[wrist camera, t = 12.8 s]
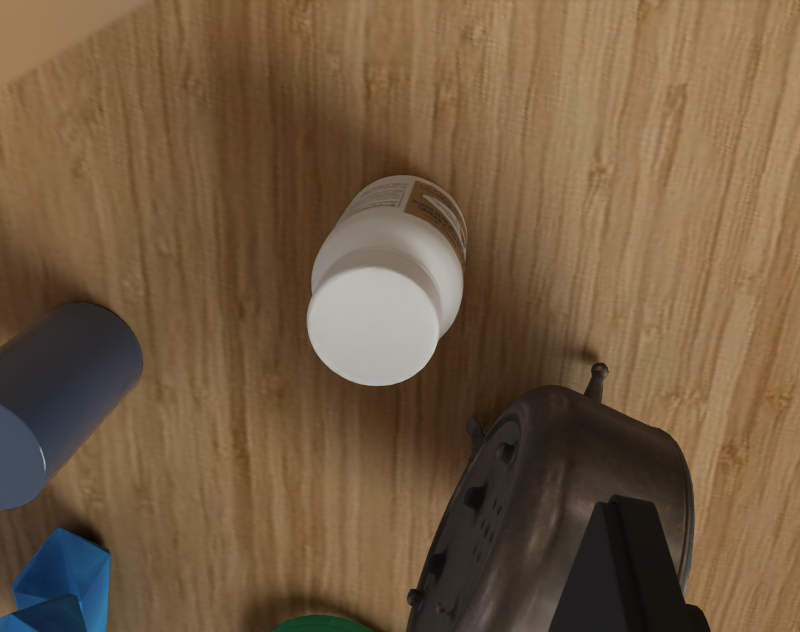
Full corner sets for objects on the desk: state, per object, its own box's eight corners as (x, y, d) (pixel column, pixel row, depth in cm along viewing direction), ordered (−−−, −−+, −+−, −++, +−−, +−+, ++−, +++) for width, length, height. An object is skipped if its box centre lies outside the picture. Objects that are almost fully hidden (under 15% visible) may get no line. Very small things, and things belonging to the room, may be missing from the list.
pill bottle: (485, 270, 26) (482, 377, 19) (371, 307, 27) (328, 420, 20) (442, 153, 24) (421, 221, 17) (323, 197, 25) (258, 278, 18)
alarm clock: (516, 564, 31) (538, 1087, 16) (400, 515, 31) (314, 1004, 16) (654, 358, 26) (859, 828, 12) (519, 298, 26) (553, 703, 11)
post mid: (34, 290, 28) (-99, 379, 22) (144, 313, 28) (42, 409, 22) (39, 387, 30) (-83, 494, 24) (142, 409, 30) (47, 523, 24)
